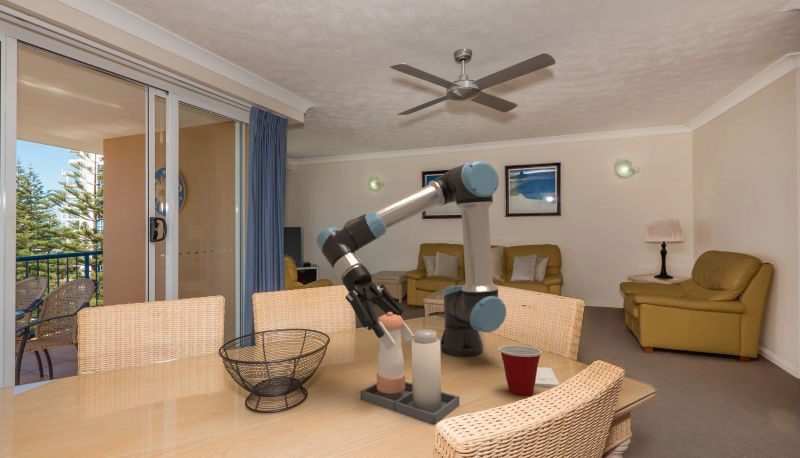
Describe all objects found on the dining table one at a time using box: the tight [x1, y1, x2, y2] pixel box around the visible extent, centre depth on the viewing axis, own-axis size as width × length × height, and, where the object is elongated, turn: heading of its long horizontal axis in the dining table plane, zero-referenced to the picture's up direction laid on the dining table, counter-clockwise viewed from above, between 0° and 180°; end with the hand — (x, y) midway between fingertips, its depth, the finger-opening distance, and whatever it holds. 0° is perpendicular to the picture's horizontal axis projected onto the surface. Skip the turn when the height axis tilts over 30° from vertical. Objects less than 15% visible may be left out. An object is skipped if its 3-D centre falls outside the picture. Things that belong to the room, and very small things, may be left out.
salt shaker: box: [411, 328, 442, 414], centre depth 90 cm, size 7×7×18 cm
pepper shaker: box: [376, 312, 406, 393], centre depth 97 cm, size 7×7×19 cm
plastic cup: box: [498, 344, 543, 397], centre depth 99 cm, size 11×11×12 cm
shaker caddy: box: [360, 381, 460, 426], centre depth 93 cm, size 11×22×3 cm, turn 53°
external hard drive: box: [534, 366, 560, 389], centre depth 109 cm, size 2×8×12 cm
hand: (401, 342), depth 94 cm, fingers closed on pepper shaker, 7 cm apart
